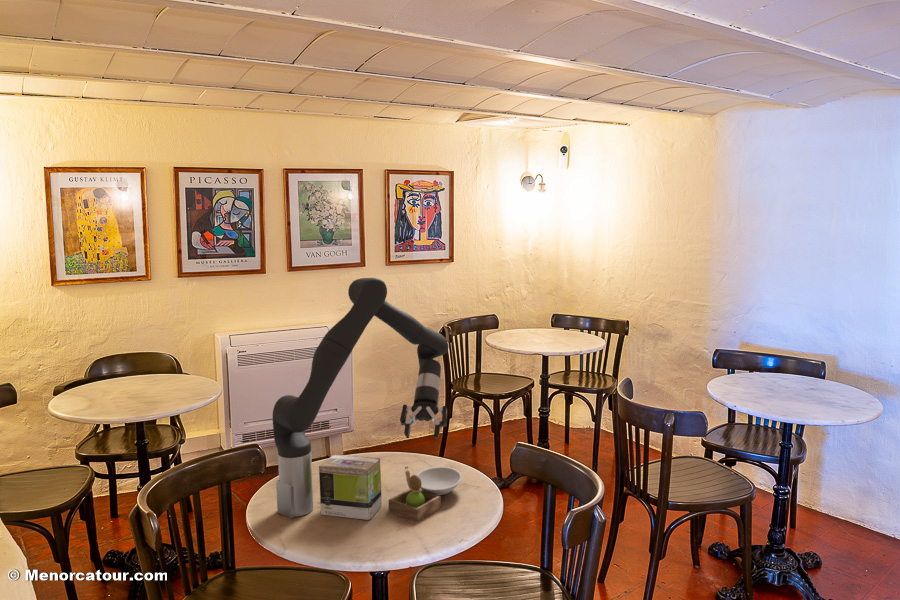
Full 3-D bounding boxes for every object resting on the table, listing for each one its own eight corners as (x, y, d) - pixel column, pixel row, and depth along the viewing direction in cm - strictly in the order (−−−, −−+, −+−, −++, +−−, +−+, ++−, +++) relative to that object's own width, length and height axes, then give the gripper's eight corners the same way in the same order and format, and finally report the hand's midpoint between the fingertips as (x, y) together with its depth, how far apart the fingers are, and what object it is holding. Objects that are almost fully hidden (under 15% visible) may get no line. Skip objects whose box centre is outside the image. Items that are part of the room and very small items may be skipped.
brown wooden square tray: (417, 521, 174) (417, 509, 174) (388, 511, 181) (388, 499, 180) (440, 507, 183) (440, 496, 182) (412, 498, 189) (412, 487, 189)
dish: (457, 507, 183) (456, 491, 182) (408, 504, 185) (408, 488, 185) (466, 483, 200) (466, 467, 199) (422, 480, 203) (421, 465, 202)
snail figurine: (413, 502, 186) (412, 463, 185) (428, 509, 182) (428, 469, 180) (399, 509, 182) (398, 469, 181) (415, 515, 178) (414, 475, 176)
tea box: (382, 506, 184) (381, 457, 183) (369, 521, 175) (367, 470, 173) (335, 500, 188) (333, 452, 187) (319, 515, 179) (317, 465, 177)
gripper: (403, 384, 199) (396, 431, 189) (448, 385, 197) (443, 432, 187) (407, 395, 205) (400, 442, 195) (450, 397, 203) (446, 444, 193)
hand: (421, 437), depth 191 cm, fingers open, 8 cm apart
